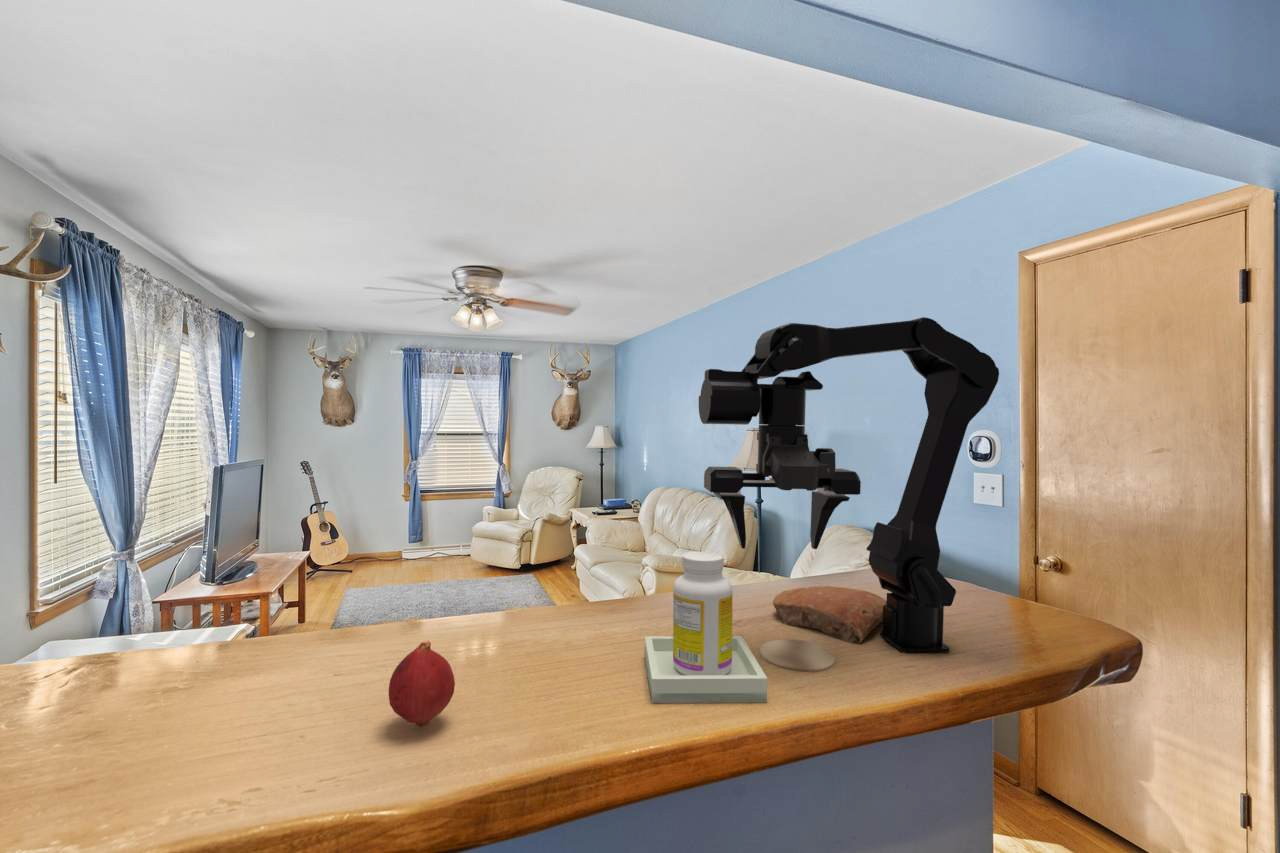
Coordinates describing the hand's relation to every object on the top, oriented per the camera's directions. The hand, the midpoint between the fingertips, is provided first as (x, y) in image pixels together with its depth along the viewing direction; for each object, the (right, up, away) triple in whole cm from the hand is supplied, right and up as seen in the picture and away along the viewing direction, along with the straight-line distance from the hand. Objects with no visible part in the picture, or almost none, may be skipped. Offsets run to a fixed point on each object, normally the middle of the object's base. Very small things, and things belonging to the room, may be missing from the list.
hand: (778, 548), depth 77 cm
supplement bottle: (-11, -12, -8) cm, 18 cm away
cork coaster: (+2, -13, -2) cm, 13 cm away
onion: (-38, -13, -20) cm, 45 cm away
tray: (-11, -13, -8) cm, 19 cm away
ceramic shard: (+10, -14, +13) cm, 21 cm away
